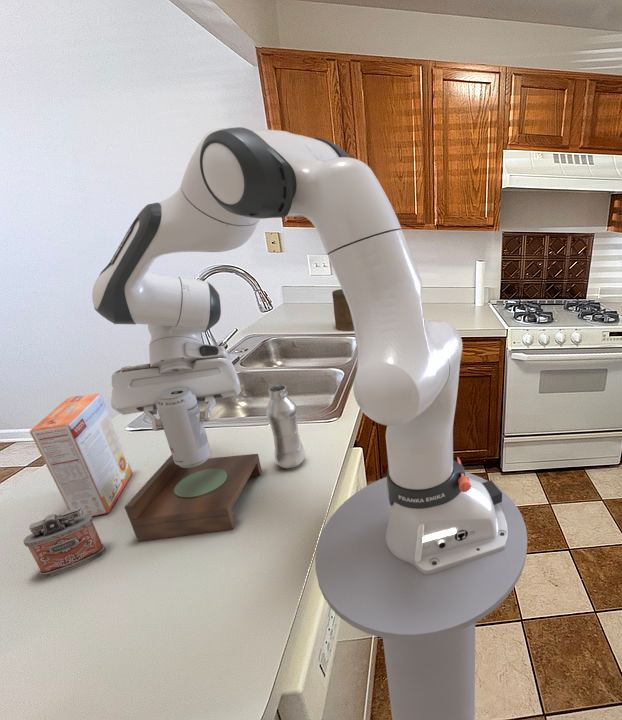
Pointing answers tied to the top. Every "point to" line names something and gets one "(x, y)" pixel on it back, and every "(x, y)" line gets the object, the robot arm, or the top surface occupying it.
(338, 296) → the wooden container
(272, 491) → the top surface
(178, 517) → the shelf
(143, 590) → the top surface
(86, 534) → the lighter
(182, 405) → the energy drink can
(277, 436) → the silver metal bottle
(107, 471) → the cracker box
